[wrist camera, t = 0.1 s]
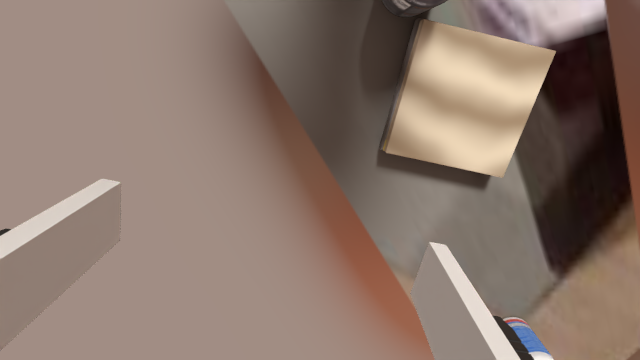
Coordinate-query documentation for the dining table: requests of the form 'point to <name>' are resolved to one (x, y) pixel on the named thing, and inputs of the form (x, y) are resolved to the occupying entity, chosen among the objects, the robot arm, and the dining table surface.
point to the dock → (463, 97)
